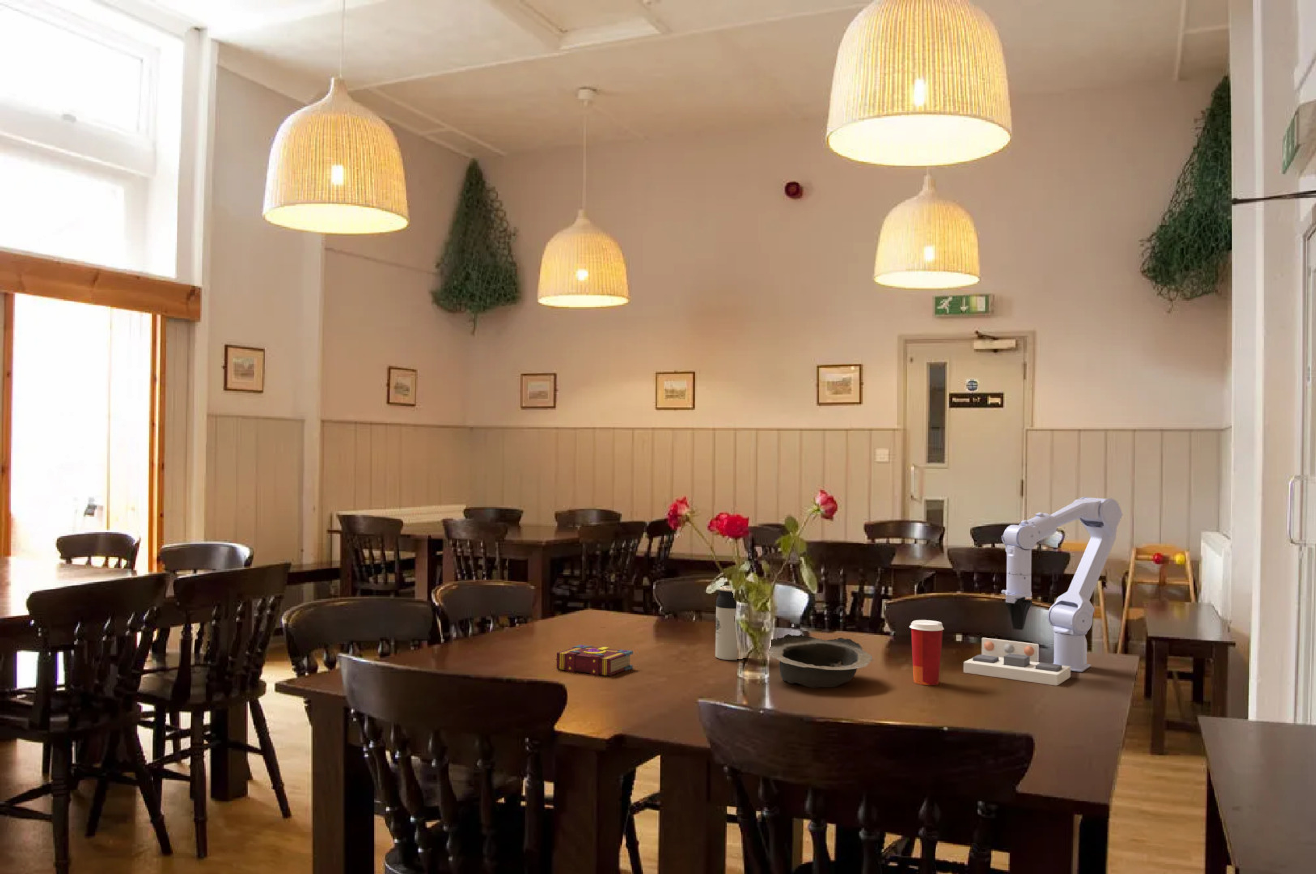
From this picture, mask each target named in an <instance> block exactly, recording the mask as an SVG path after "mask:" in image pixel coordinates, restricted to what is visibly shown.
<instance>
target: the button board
mask: <svg viewBox="0 0 1316 874" xmlns="http://www.w3.org/2000/svg"><path fill="white" fill-rule="evenodd" d="M1039 663H1040V662H1031V661H1030V665H1029V666H1027V667H1025V668H1024V667H1016V666H1009V665H1004V658H1000V657H999V661H997V662H995V663H986V662H979V661H973V657H972V658H970V659H968V660H965V661H963V673H964V674H972V675H980V676H986V677H992V678H993V677H994V678H1000V679H1007V680H1014V681H1020V682H1021V681H1023V682H1030V683H1036V684H1043V685H1050V686H1056V687H1057V686H1059V685H1060V684H1062V683H1063V682H1065V681H1066V680H1068V679H1070V678H1071V672H1072V671H1071V667H1070V666H1062V670H1060V671H1058V672H1054V671H1046V670H1039V669H1036V665H1037V664H1039Z"/></svg>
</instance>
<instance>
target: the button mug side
mask: <svg viewBox="0 0 1316 874" xmlns="http://www.w3.org/2000/svg"><path fill="white" fill-rule="evenodd" d="M972 658H973V661H979V662H986V663H995V662H997V661H999V657H996V656H988V655H982V654H980V653H979V654H977V655H975V656H973V657H972Z"/></svg>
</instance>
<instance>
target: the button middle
mask: <svg viewBox="0 0 1316 874" xmlns="http://www.w3.org/2000/svg"><path fill="white" fill-rule="evenodd" d="M1004 665H1009V666H1016V667H1024V668H1025V667H1027V666H1029V665H1030V656H1027V655H1019V654H1011V653H1010V654H1008V655H1005V656H1004Z"/></svg>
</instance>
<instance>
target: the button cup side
mask: <svg viewBox="0 0 1316 874" xmlns="http://www.w3.org/2000/svg"><path fill="white" fill-rule="evenodd" d="M1036 669H1039V670H1046V671H1054V672H1058V671H1060V670H1062V665H1057V664H1053V663H1049V662H1039V664H1037V665H1036Z"/></svg>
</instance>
